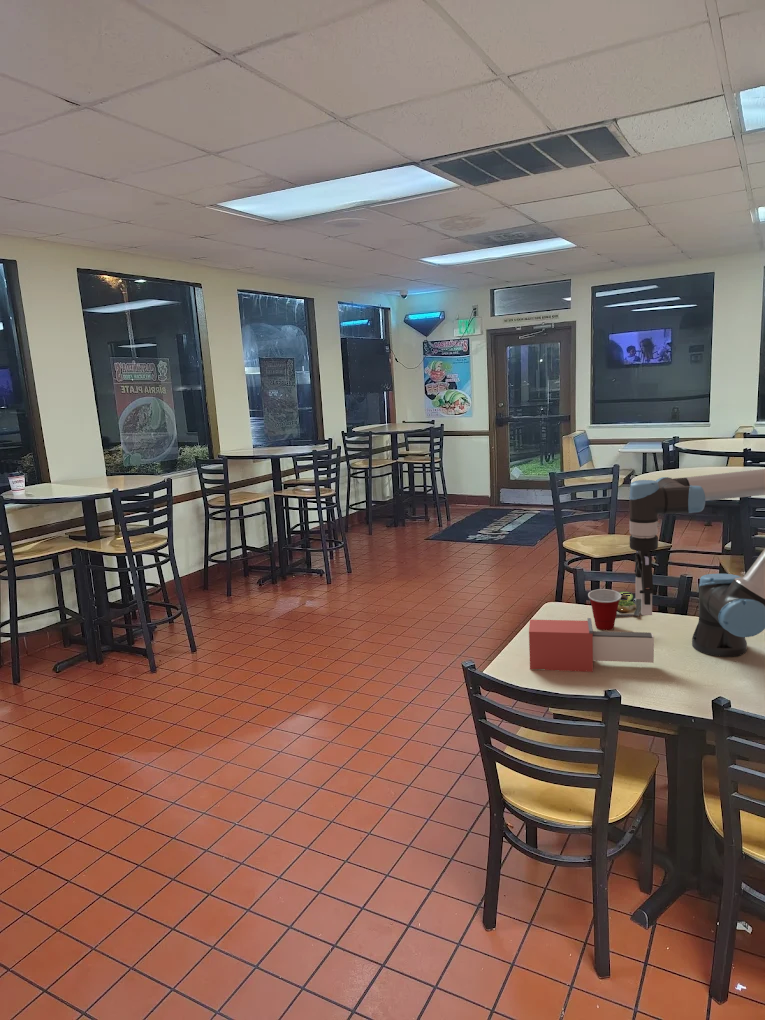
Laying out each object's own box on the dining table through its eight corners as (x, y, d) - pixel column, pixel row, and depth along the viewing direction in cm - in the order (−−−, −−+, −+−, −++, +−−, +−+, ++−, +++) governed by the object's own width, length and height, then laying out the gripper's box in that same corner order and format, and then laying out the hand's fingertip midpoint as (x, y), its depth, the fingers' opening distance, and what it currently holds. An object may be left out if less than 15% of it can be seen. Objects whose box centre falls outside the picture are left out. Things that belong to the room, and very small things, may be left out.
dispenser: (530, 669, 201) (528, 629, 199) (530, 655, 211) (529, 616, 209) (593, 672, 197) (592, 630, 194) (591, 657, 207) (590, 618, 204)
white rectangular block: (589, 660, 200) (588, 635, 198) (588, 656, 203) (588, 631, 201) (653, 662, 196) (653, 636, 194) (652, 658, 199) (652, 632, 197)
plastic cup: (588, 632, 226) (587, 598, 223) (588, 621, 236) (587, 588, 233) (622, 634, 222) (622, 599, 220) (620, 622, 233) (620, 589, 230)
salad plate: (660, 618, 235) (660, 605, 234) (609, 622, 235) (609, 609, 234) (636, 600, 254) (636, 588, 253) (590, 604, 253) (590, 592, 253)
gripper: (665, 546, 178) (664, 622, 182) (651, 524, 201) (651, 592, 205) (634, 546, 180) (634, 621, 184) (625, 525, 203) (625, 592, 207)
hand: (643, 606), depth 195 cm, fingers open, 13 cm apart
